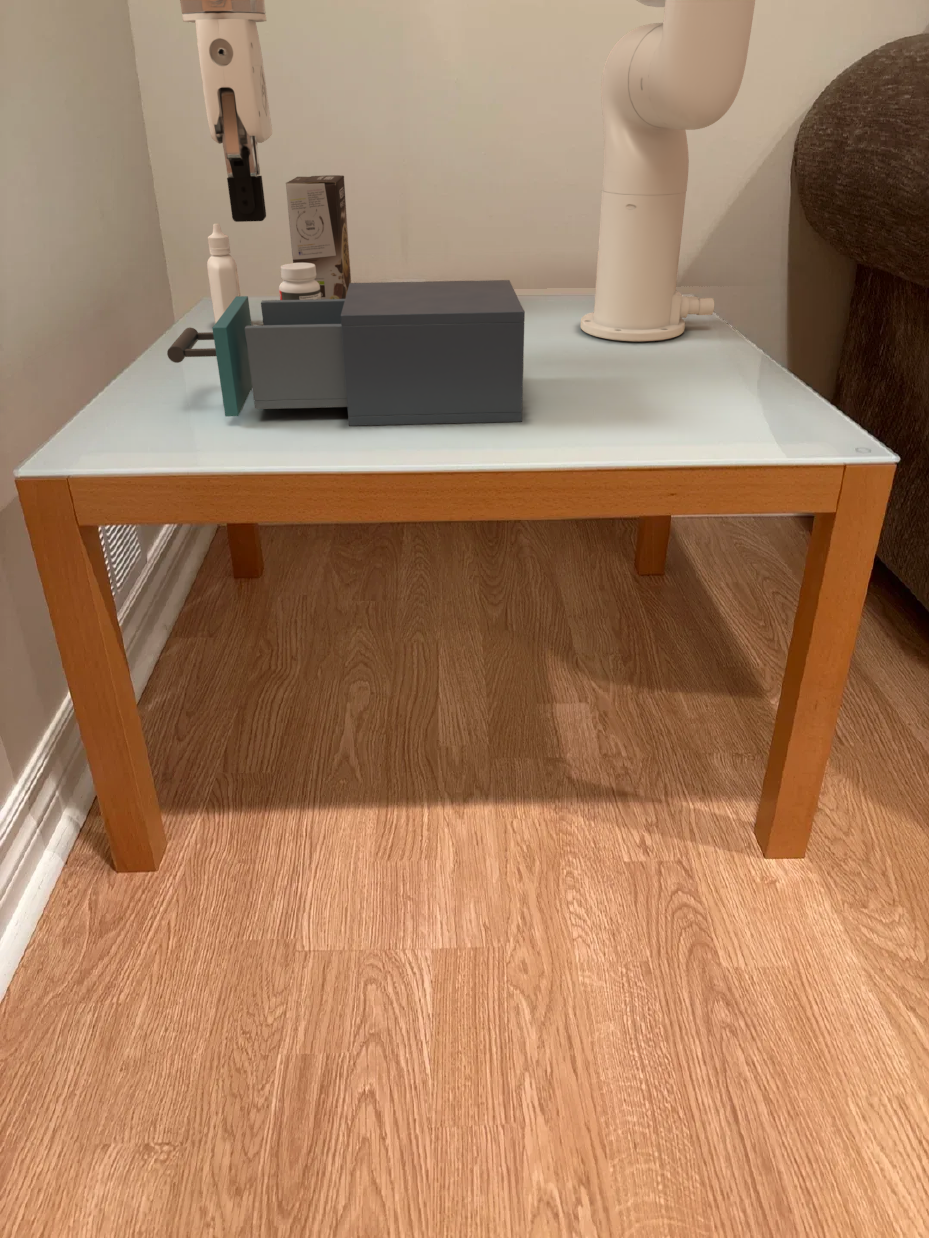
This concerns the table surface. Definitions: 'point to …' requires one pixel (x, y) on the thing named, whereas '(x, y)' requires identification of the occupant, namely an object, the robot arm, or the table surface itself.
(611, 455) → the table surface
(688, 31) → the robot arm
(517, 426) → the table surface
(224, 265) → the eye dropper bottle
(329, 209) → the coffee box
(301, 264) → the pill bottle
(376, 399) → the cabinet
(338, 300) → the drawer
